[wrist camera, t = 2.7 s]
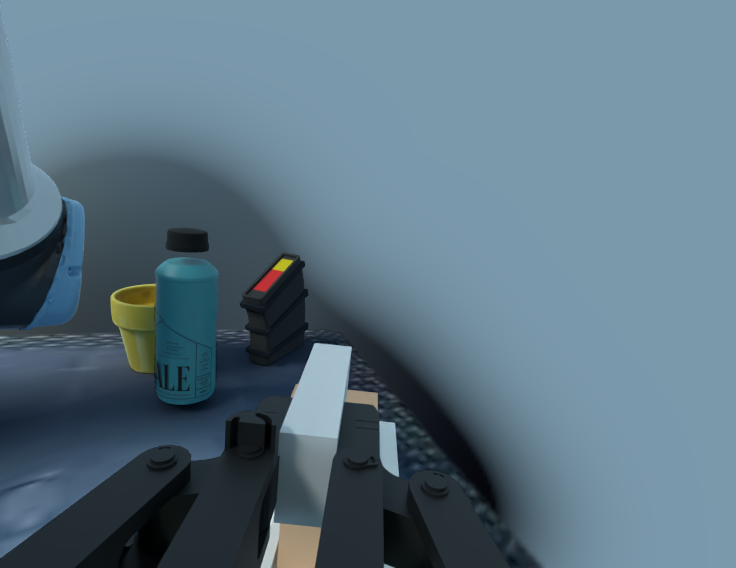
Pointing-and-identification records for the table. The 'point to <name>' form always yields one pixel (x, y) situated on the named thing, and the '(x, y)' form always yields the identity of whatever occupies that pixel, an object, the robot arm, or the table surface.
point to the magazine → (276, 310)
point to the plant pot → (137, 324)
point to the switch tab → (303, 540)
